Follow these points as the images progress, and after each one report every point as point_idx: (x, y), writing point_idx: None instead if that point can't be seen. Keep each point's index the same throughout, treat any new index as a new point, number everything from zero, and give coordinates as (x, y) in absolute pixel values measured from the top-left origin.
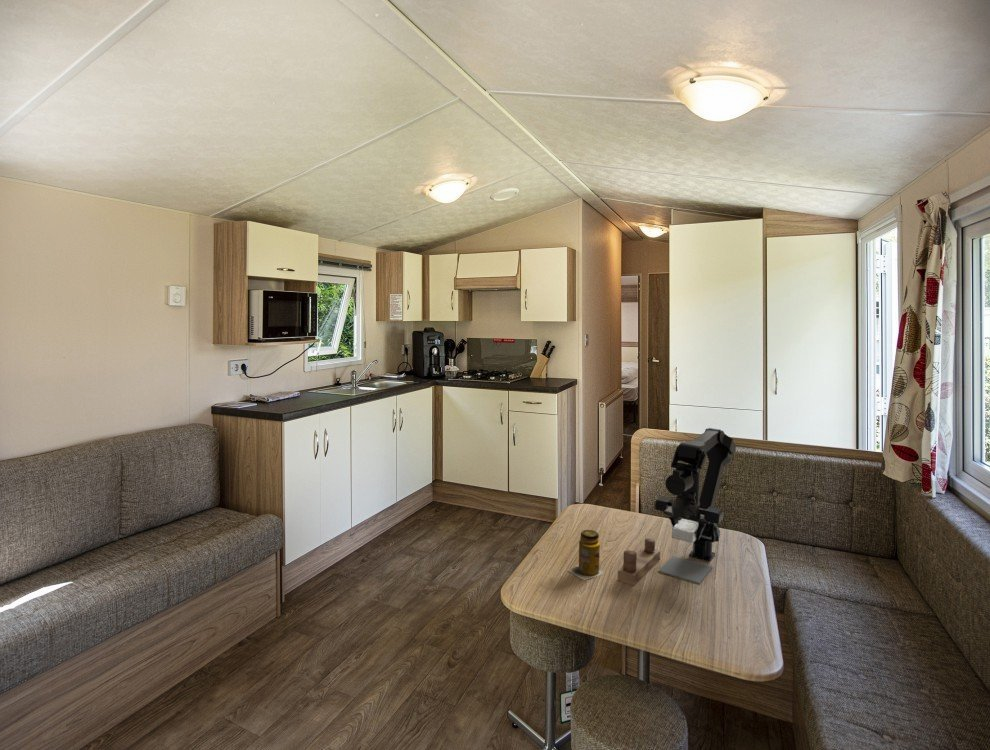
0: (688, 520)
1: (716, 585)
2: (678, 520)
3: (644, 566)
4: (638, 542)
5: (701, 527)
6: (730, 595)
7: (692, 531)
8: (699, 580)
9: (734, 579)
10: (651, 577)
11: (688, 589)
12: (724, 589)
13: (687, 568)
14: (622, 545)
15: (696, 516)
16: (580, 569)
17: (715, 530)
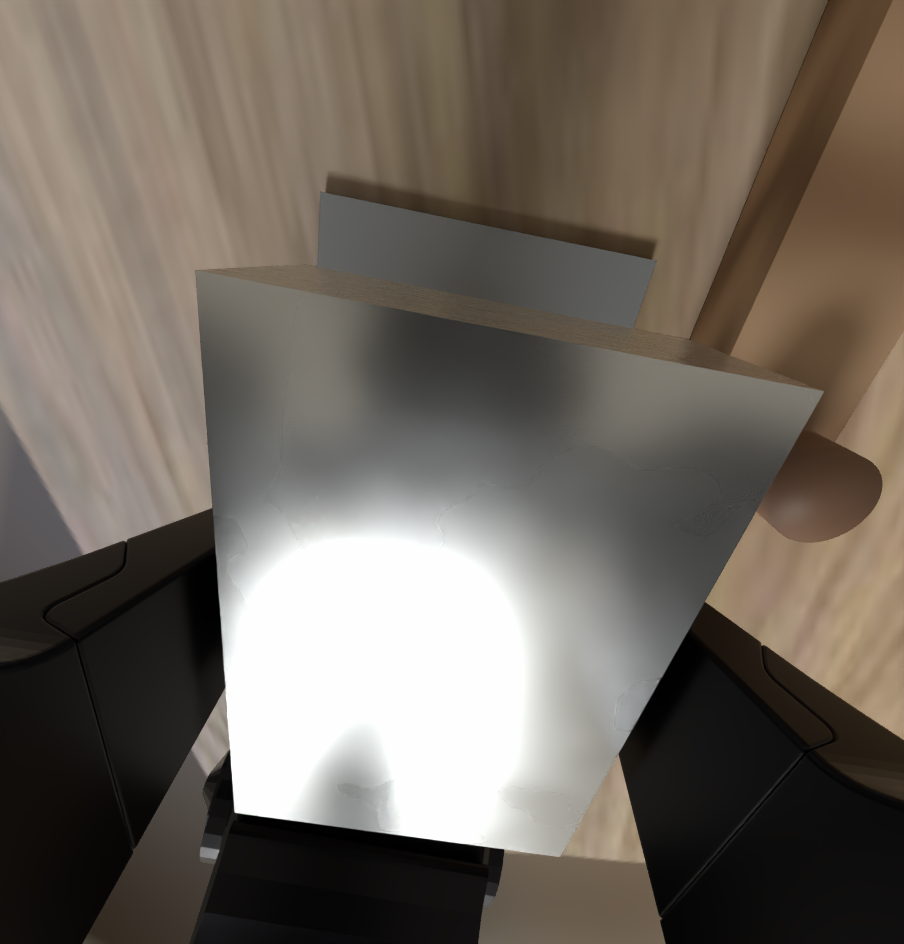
0: (458, 830)
1: (219, 249)
2: (627, 787)
3: (848, 86)
4: (767, 629)
5: (27, 590)
6: (78, 116)
7: (252, 396)
8: (333, 239)
9: (155, 403)
10: (713, 116)
11: (387, 33)
12: (152, 208)
13: None
14: (885, 559)
15: (385, 932)
16: None
17: (218, 769)
